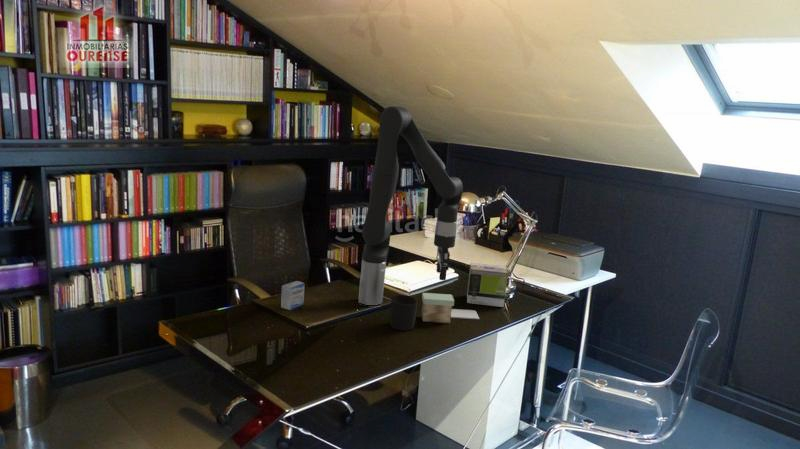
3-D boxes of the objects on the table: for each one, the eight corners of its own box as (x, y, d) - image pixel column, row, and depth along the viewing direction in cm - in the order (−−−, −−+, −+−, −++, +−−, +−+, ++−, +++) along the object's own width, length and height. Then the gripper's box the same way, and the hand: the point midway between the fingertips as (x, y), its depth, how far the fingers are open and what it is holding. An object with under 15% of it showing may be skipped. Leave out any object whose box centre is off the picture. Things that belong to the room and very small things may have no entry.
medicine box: (289, 310, 218) (291, 288, 216) (280, 307, 220) (281, 285, 218) (303, 304, 225) (305, 282, 223) (294, 301, 227) (295, 280, 225)
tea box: (502, 299, 251) (507, 265, 248) (503, 308, 242) (508, 273, 238) (466, 295, 252) (470, 261, 249) (466, 303, 243) (470, 268, 239)
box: (422, 321, 220) (424, 303, 218) (421, 316, 225) (423, 298, 223) (449, 323, 221) (452, 305, 219) (448, 317, 226) (450, 300, 224)
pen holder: (419, 325, 216) (422, 299, 214) (408, 333, 208) (411, 306, 206) (395, 318, 220) (398, 293, 218) (384, 327, 212) (386, 300, 209)
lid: (423, 306, 218) (424, 298, 217) (421, 300, 224) (422, 292, 223) (453, 308, 219) (454, 300, 218) (450, 302, 225) (451, 294, 224)
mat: (447, 317, 226) (447, 316, 226) (445, 309, 234) (445, 308, 234) (479, 319, 227) (479, 318, 227) (475, 311, 235) (475, 310, 235)
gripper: (432, 227, 222) (428, 269, 226) (437, 237, 208) (432, 281, 212) (452, 228, 222) (448, 270, 226) (458, 238, 209) (453, 283, 212)
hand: (440, 276), depth 219 cm, fingers open, 8 cm apart
